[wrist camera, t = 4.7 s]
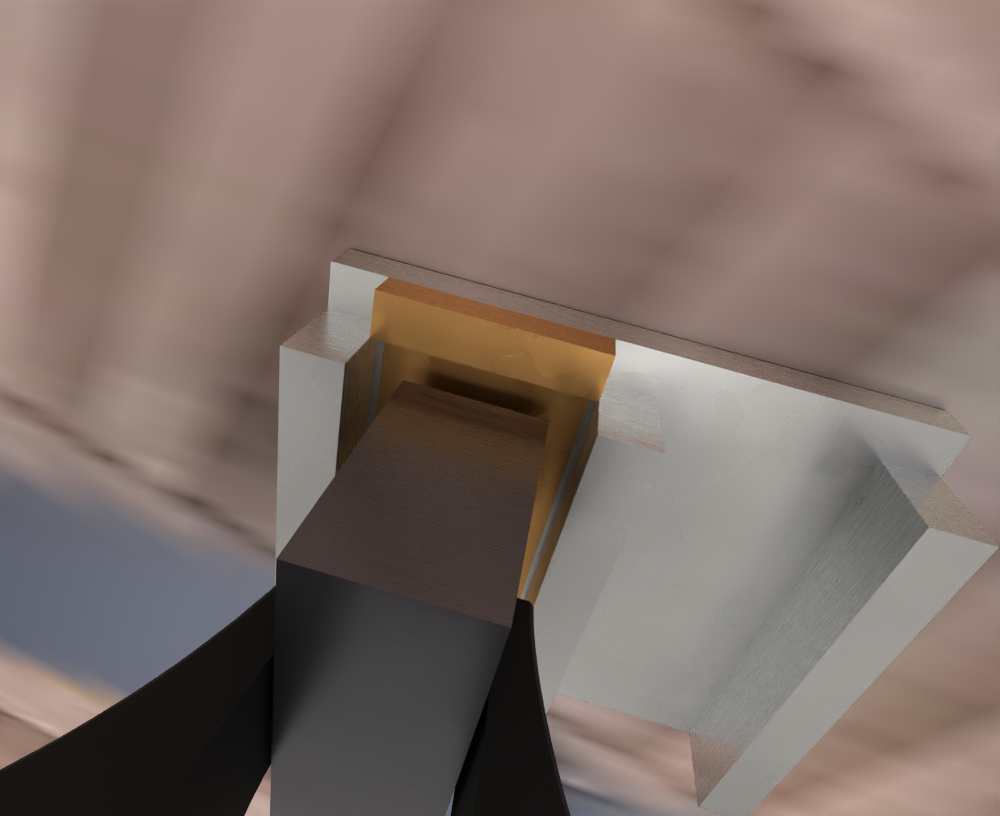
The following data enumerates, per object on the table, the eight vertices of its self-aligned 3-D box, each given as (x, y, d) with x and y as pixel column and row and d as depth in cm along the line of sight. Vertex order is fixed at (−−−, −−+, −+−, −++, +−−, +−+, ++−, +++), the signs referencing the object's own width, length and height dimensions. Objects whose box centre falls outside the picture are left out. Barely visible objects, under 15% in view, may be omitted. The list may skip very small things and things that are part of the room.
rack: (946, 410, 12) (1040, 502, 9) (723, 711, 17) (743, 821, 15) (350, 249, 12) (281, 292, 10) (322, 593, 18) (272, 679, 15)
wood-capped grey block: (548, 420, 11) (511, 627, 7) (479, 643, 15) (425, 871, 10) (402, 379, 11) (276, 558, 7) (368, 611, 15) (270, 823, 11)
